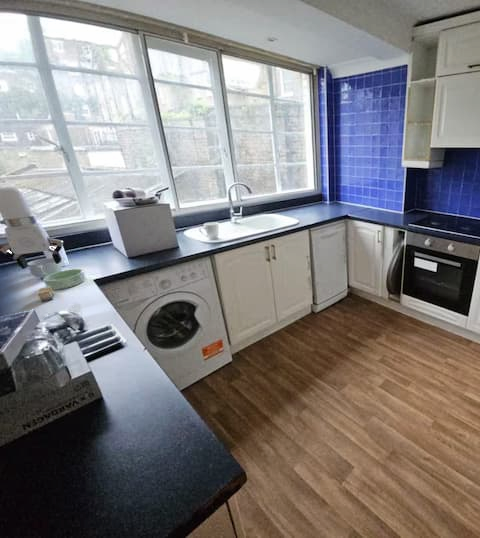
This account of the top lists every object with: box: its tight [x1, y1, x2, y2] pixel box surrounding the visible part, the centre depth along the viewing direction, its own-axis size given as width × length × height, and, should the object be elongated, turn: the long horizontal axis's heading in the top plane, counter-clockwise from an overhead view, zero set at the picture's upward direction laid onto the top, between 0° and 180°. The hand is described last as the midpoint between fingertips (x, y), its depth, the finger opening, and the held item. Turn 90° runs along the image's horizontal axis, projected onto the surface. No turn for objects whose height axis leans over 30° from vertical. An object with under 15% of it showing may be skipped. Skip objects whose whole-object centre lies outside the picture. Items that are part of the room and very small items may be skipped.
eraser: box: [37, 286, 55, 303], centre depth 121 cm, size 6×3×4 cm, turn 39°
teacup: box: [27, 257, 63, 279], centre depth 140 cm, size 14×11×8 cm
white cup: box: [42, 245, 70, 268], centre depth 154 cm, size 8×8×10 cm
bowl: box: [42, 268, 87, 291], centre depth 133 cm, size 13×13×4 cm
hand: (42, 265), depth 114 cm, fingers open, 9 cm apart
